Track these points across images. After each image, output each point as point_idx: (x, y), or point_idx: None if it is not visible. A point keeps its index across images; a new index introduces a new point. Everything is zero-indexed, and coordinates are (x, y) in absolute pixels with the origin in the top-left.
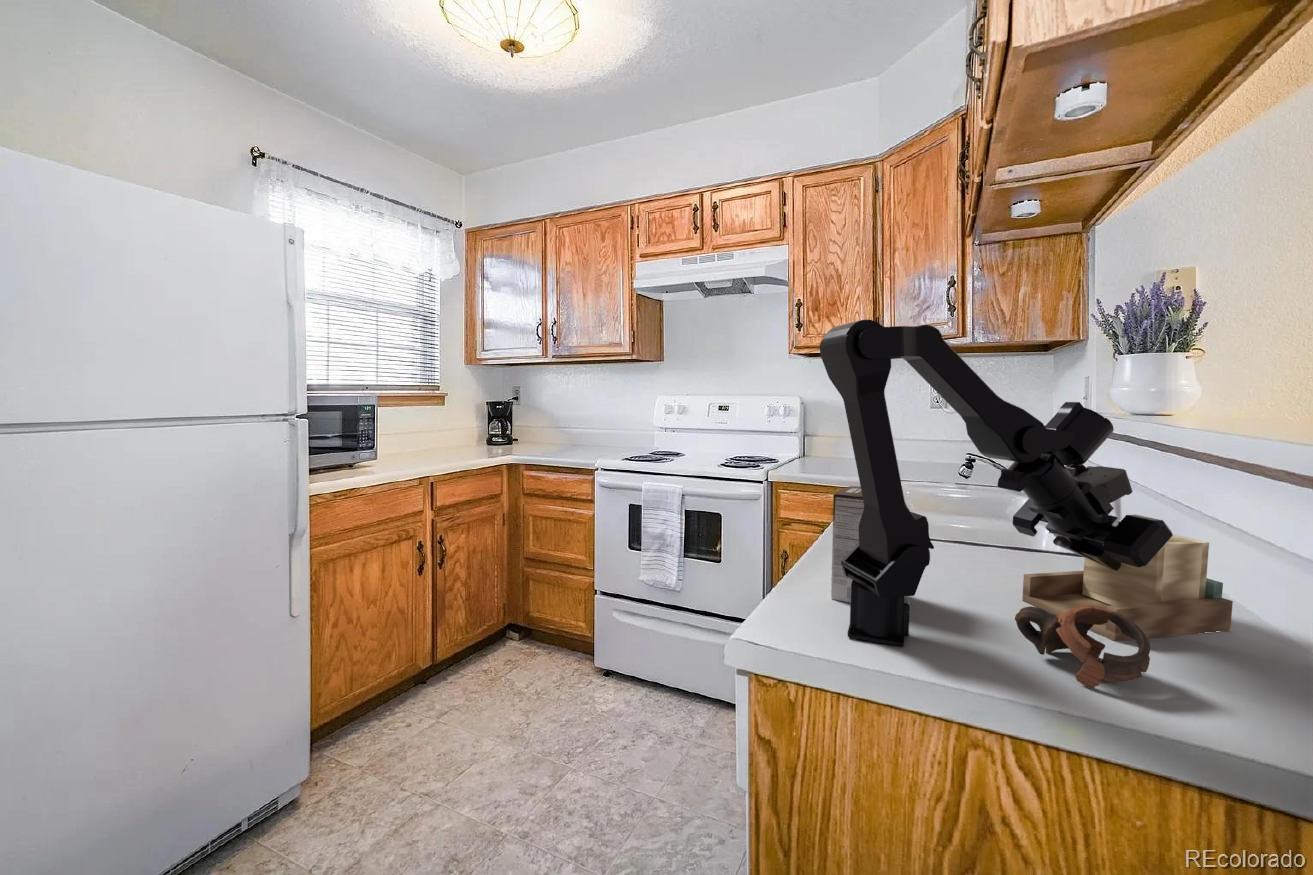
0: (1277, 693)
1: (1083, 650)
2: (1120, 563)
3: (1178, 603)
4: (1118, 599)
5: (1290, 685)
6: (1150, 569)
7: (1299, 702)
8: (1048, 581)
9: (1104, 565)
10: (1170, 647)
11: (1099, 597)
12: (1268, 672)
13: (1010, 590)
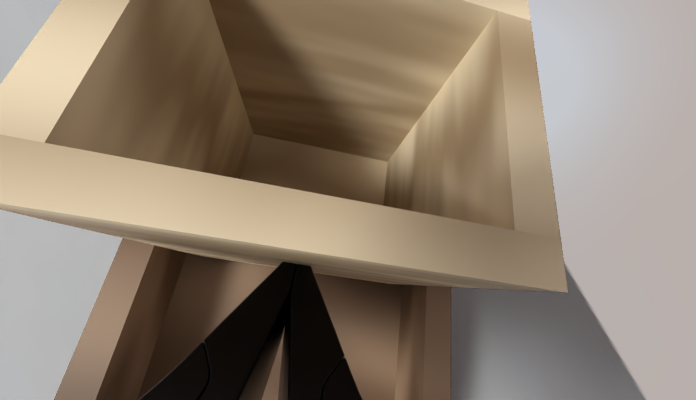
0: (609, 379)
1: None
2: (313, 275)
3: None
4: None
5: (586, 318)
6: (435, 283)
7: (632, 381)
8: (113, 388)
9: (280, 341)
10: (453, 351)
11: (252, 263)
12: (549, 294)
13: (18, 381)
